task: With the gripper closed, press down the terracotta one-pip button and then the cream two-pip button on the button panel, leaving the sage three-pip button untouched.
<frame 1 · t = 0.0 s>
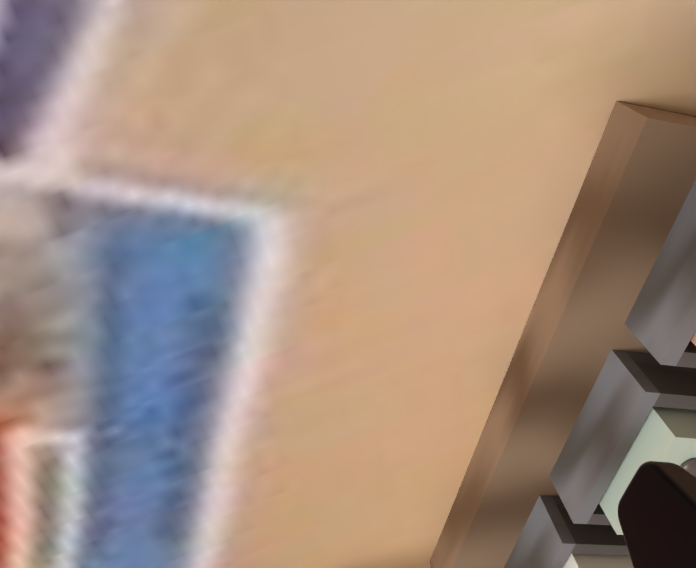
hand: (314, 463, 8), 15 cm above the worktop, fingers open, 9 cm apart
button sage: (690, 473, 24), point 5 cm above the worktop, slide at 0.0 cm
button panel: (627, 391, 28), on the worktop
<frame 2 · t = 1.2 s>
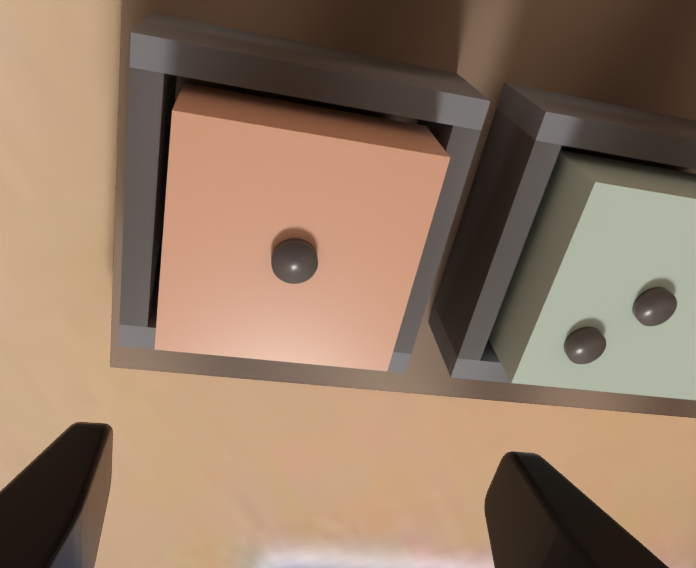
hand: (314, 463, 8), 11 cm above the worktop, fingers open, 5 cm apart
button sage: (631, 283, 15), point 5 cm above the worktop, slide at 0.0 cm
button terracotta: (292, 238, 13), point 5 cm above the worktop, slide at 0.0 cm
button panel: (551, 202, 19), on the worktop
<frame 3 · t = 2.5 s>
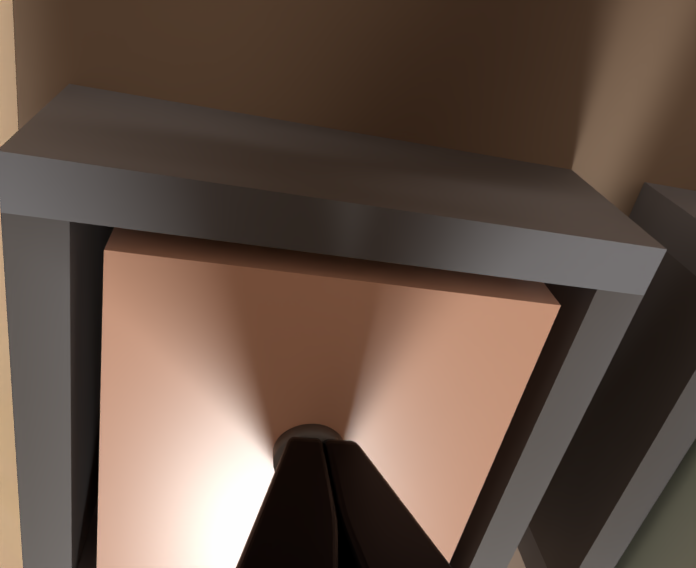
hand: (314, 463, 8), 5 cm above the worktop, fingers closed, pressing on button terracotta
button terracotta: (304, 402, 9), point 4 cm above the worktop, slide at 1.3 cm, touching gripper
button panel: (667, 321, 13), on the worktop
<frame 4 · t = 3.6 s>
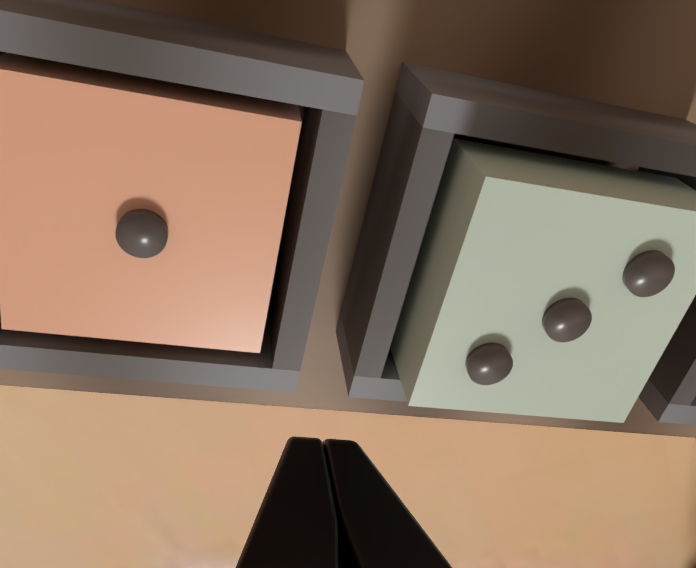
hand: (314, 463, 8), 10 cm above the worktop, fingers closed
button sage: (546, 292, 13), point 5 cm above the worktop, slide at 0.0 cm
button terracotta: (149, 210, 12), point 3 cm above the worktop, slide at 1.3 cm
button panel: (475, 199, 17), on the worktop
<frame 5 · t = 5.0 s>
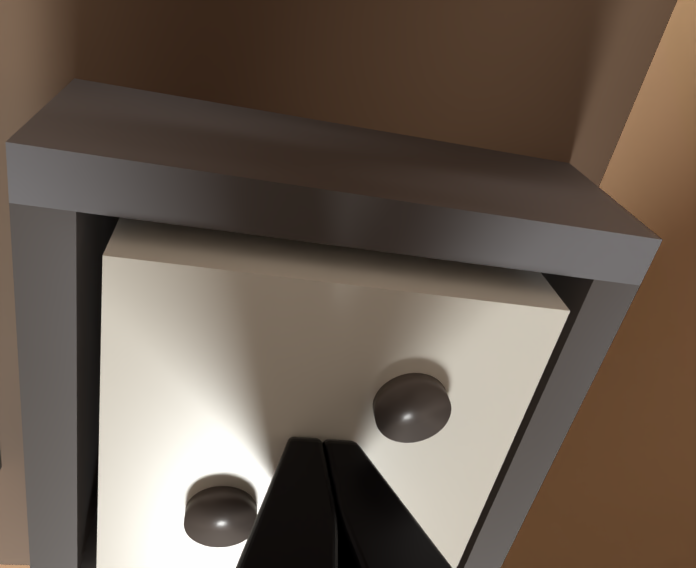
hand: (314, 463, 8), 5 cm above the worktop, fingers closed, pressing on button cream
button cream: (307, 409, 9), point 4 cm above the worktop, slide at 0.9 cm, touching gripper
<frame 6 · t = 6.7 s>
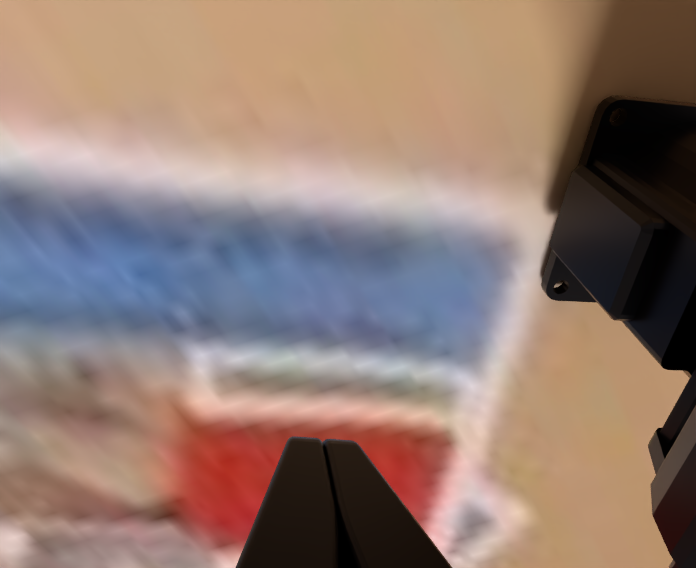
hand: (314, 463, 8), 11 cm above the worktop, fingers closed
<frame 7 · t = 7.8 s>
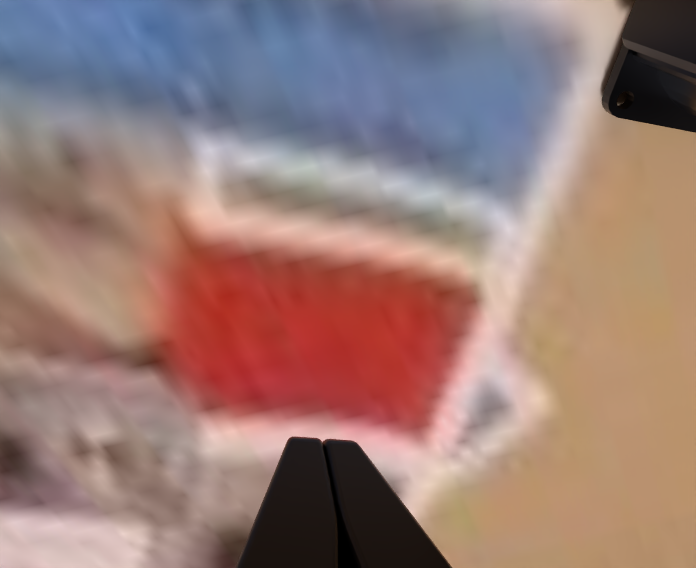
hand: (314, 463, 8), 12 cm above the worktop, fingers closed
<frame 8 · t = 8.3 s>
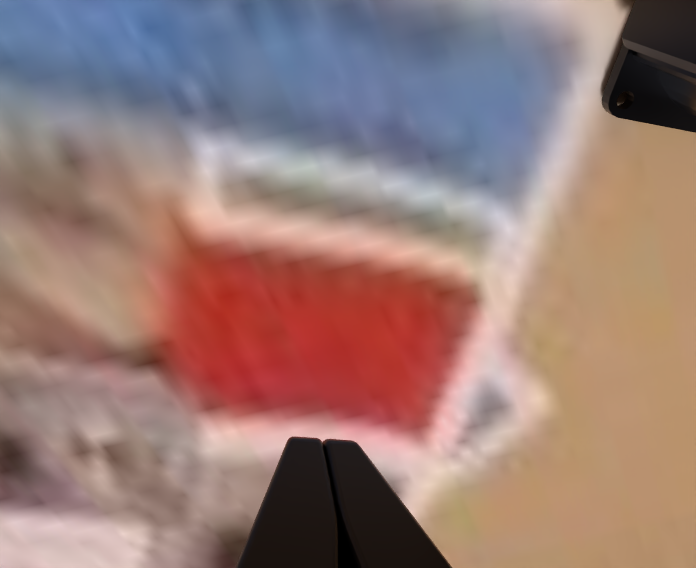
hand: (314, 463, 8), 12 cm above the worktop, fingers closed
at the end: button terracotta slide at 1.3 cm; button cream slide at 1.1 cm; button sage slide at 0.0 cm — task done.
